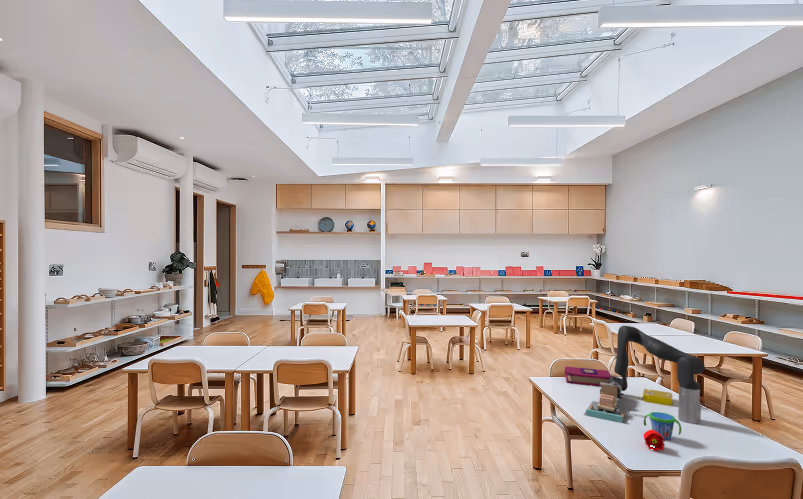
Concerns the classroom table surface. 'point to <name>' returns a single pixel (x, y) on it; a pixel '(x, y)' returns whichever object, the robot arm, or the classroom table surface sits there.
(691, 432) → the classroom table surface
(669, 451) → the classroom table surface
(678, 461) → the classroom table surface
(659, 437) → the flower
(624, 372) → the robot arm
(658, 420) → the snack cup
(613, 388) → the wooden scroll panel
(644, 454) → the classroom table surface
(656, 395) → the element tile
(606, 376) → the book
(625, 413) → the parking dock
